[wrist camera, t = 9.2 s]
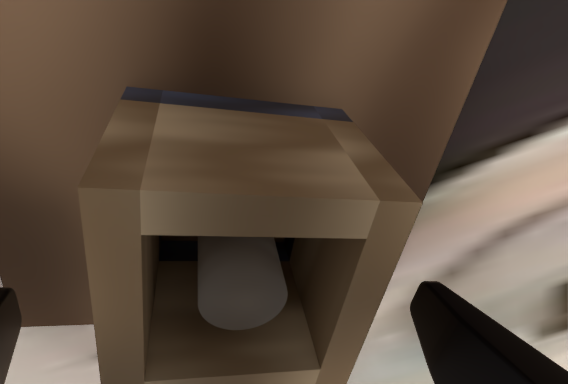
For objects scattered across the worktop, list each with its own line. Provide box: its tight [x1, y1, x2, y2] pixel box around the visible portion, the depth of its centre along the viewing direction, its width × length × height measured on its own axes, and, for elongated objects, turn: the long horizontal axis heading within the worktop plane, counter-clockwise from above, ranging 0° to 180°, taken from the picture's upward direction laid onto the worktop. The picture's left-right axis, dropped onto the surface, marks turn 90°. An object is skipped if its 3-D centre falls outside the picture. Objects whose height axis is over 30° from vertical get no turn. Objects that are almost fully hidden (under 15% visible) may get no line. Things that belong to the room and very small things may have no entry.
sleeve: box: [78, 87, 423, 384], centre depth 10 cm, size 6×6×5 cm
